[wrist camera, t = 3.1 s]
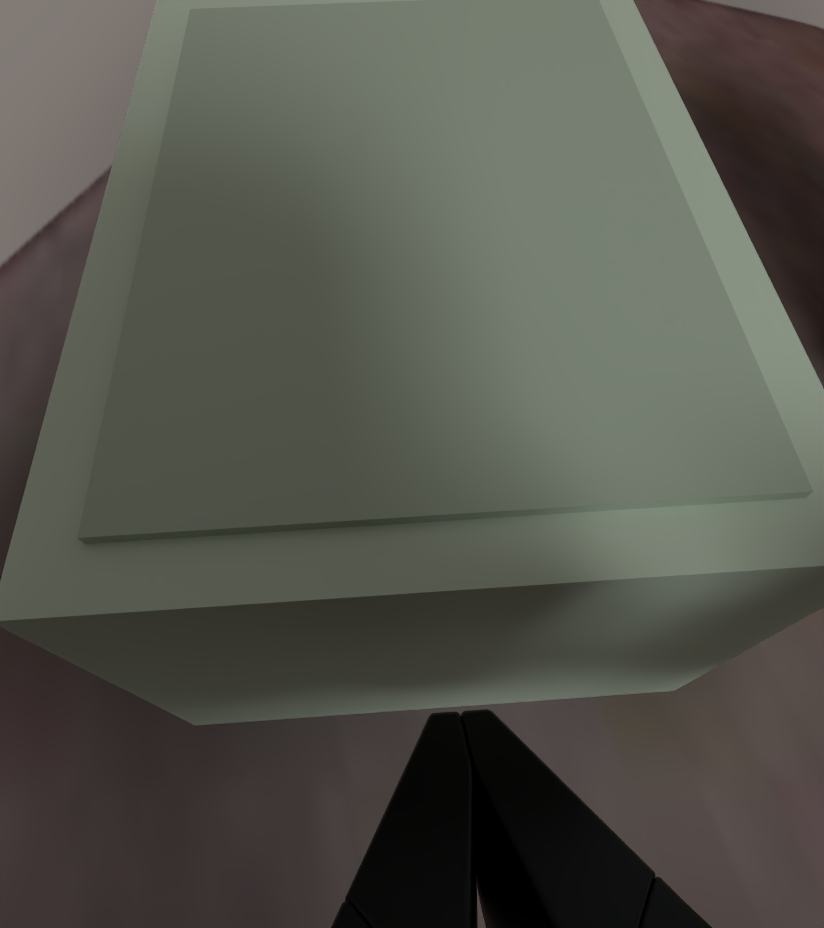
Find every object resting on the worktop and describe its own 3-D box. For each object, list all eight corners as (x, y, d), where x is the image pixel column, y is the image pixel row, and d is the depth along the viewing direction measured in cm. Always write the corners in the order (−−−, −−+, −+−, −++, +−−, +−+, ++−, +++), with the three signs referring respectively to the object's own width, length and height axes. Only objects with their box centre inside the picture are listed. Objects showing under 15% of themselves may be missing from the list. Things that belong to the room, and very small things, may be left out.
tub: (671, 692, 16) (918, 554, 8) (197, 726, 16) (-20, 616, 8) (556, 255, 24) (626, -27, 16) (240, 271, 24) (154, -10, 16)
